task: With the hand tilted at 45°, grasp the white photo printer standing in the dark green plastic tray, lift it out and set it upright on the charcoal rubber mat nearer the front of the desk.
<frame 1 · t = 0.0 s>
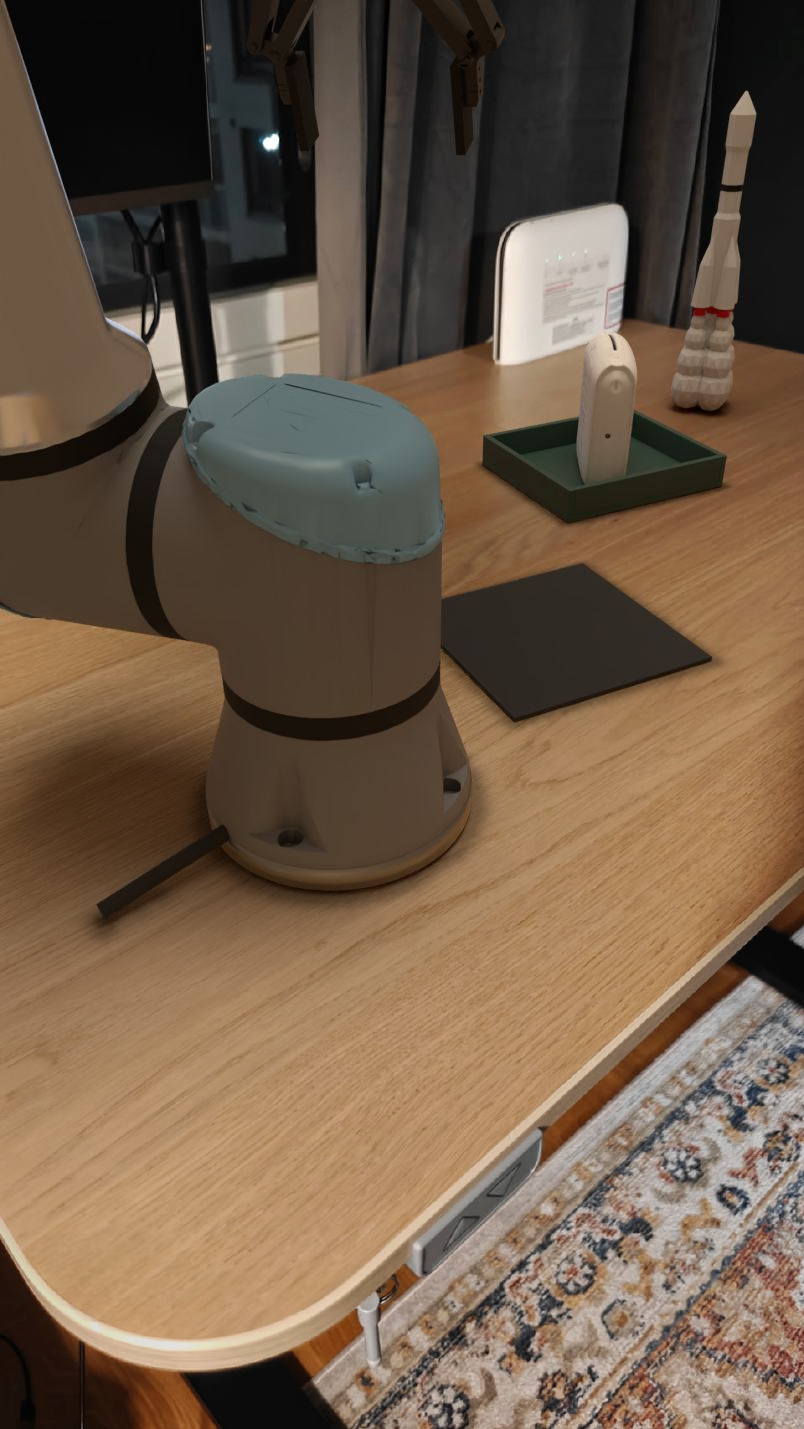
hand: (385, 146, 84), 28 cm above the table, tool tilted 20°, fingers open, 13 cm apart
rocket model: (698, 407, 113), on the table
mat: (552, 634, 74), on the table
tray: (598, 475, 98), on the table
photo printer: (599, 472, 98), resting on tray
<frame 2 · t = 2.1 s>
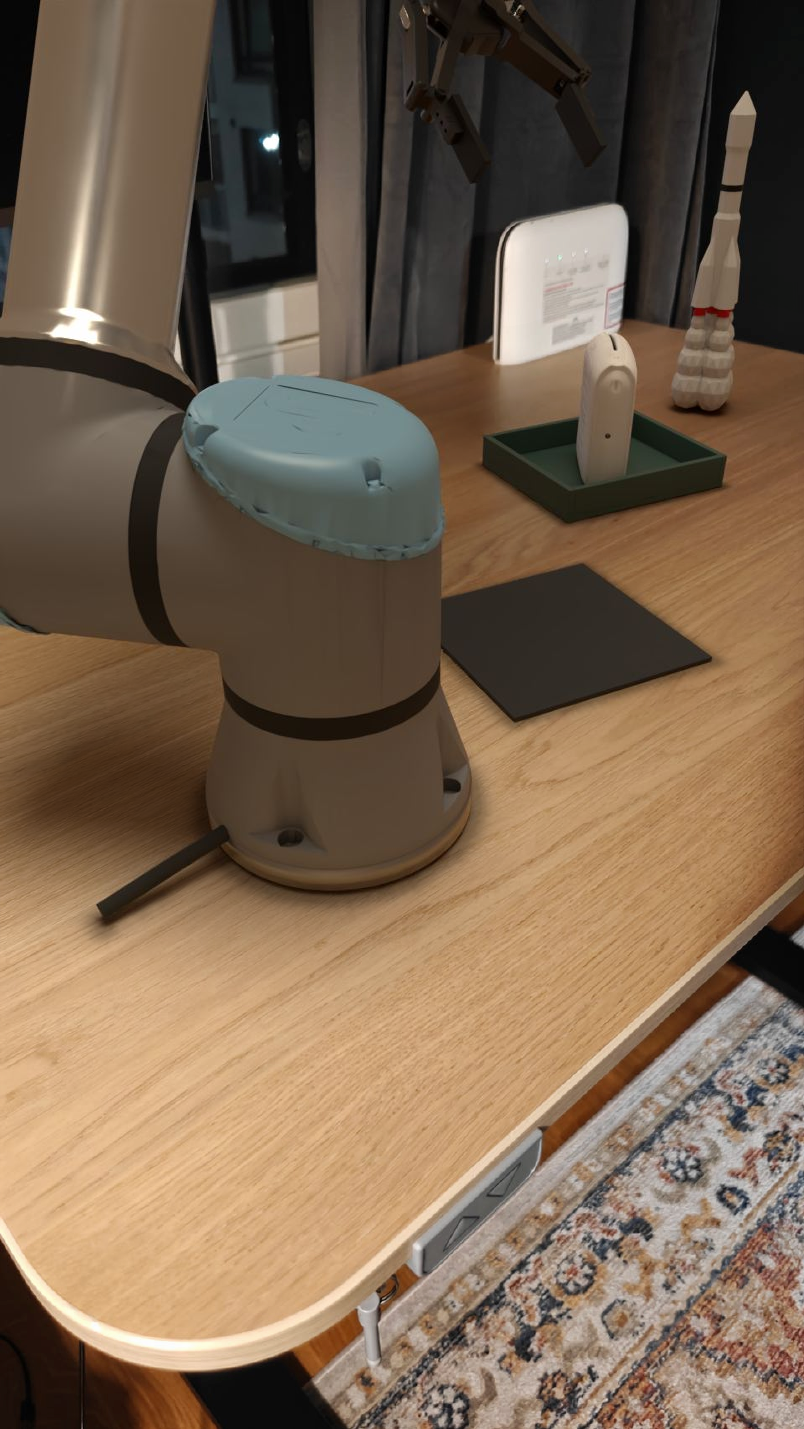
hand: (540, 164, 90), 26 cm above the table, tool tilted 45°, fingers open, 13 cm apart
nothing on the table moved.
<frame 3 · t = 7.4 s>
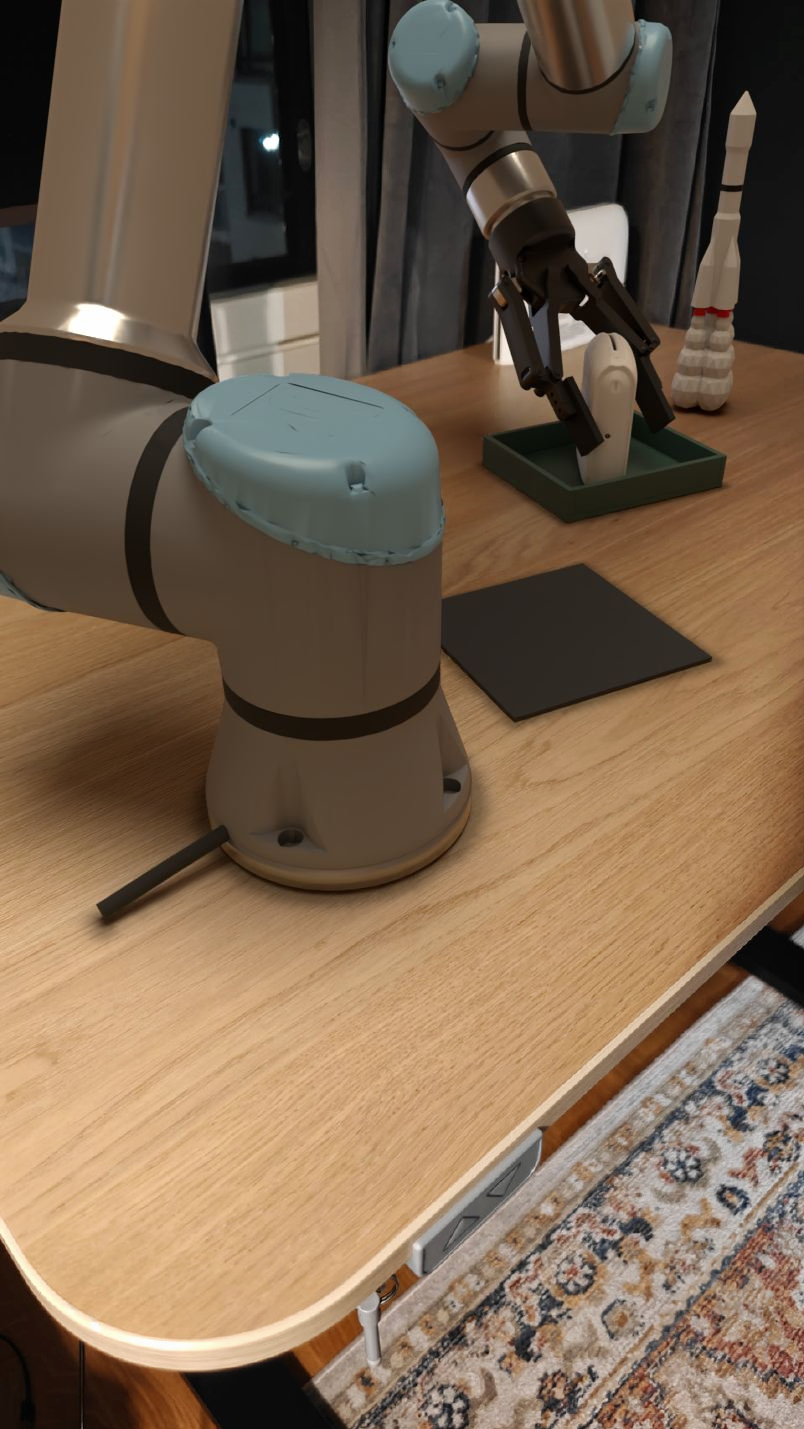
hand: (629, 437, 93), 5 cm above the table, tool tilted 45°, fingers closed on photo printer, 8 cm apart
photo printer: (598, 472, 98), resting on tray, touching gripper
everything else where it was.
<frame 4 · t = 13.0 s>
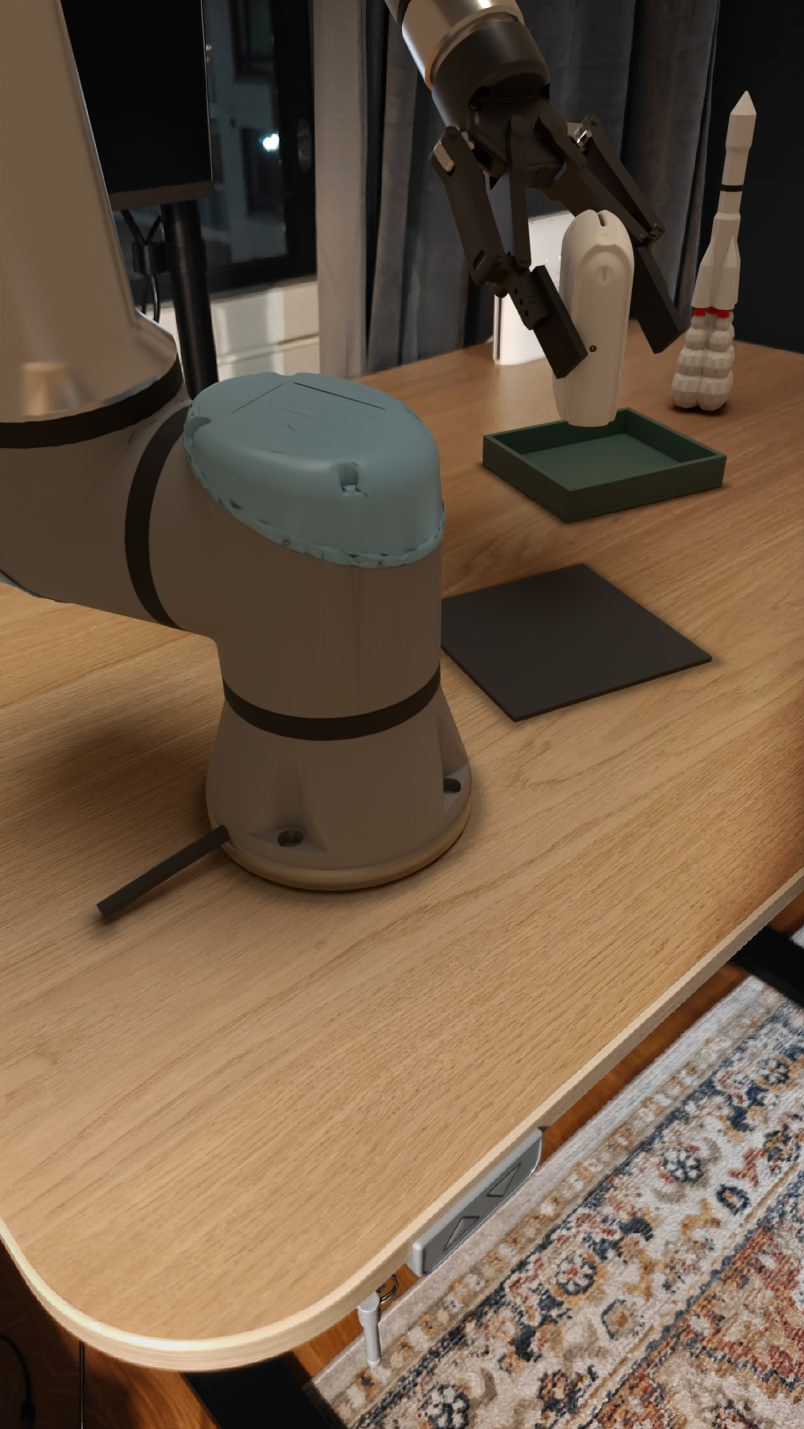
hand: (622, 354, 68), 18 cm above the table, tool tilted 45°, fingers closed on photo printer, 8 cm apart
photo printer: (582, 406, 73), point 14 cm above the table, touching gripper
everything else where it was.
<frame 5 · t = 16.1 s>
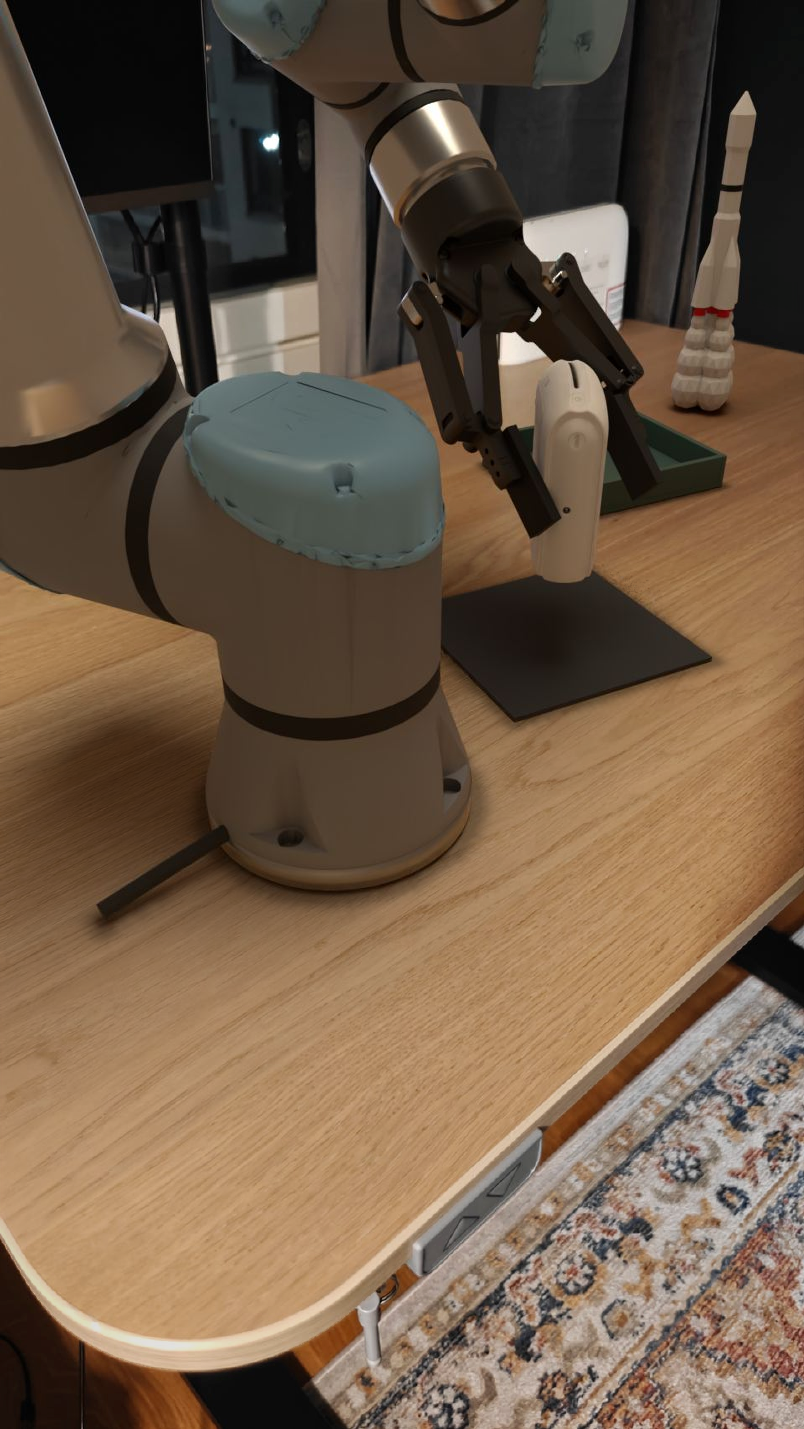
hand: (598, 509, 66), 11 cm above the table, tool tilted 45°, fingers closed on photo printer, 8 cm apart
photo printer: (558, 552, 70), point 7 cm above the table, touching gripper
everything else where it was.
when the fingers open (4 cm above the table, at t = 18.4 s): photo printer stays where it is, resting on mat.
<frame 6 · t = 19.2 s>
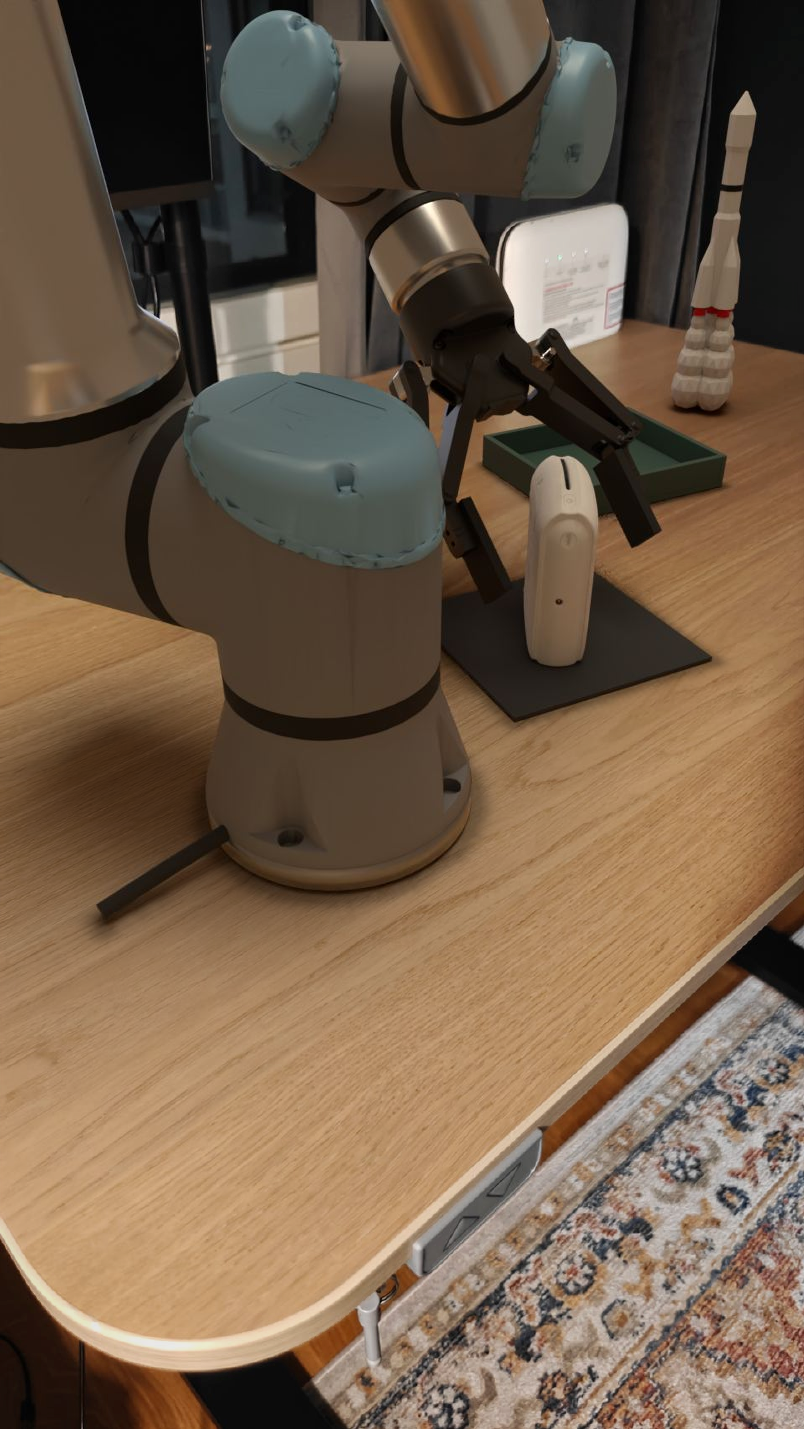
hand: (576, 567, 69), 6 cm above the table, tool tilted 45°, fingers open, 13 cm apart
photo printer: (552, 632, 74), resting on mat
everything else where it was.
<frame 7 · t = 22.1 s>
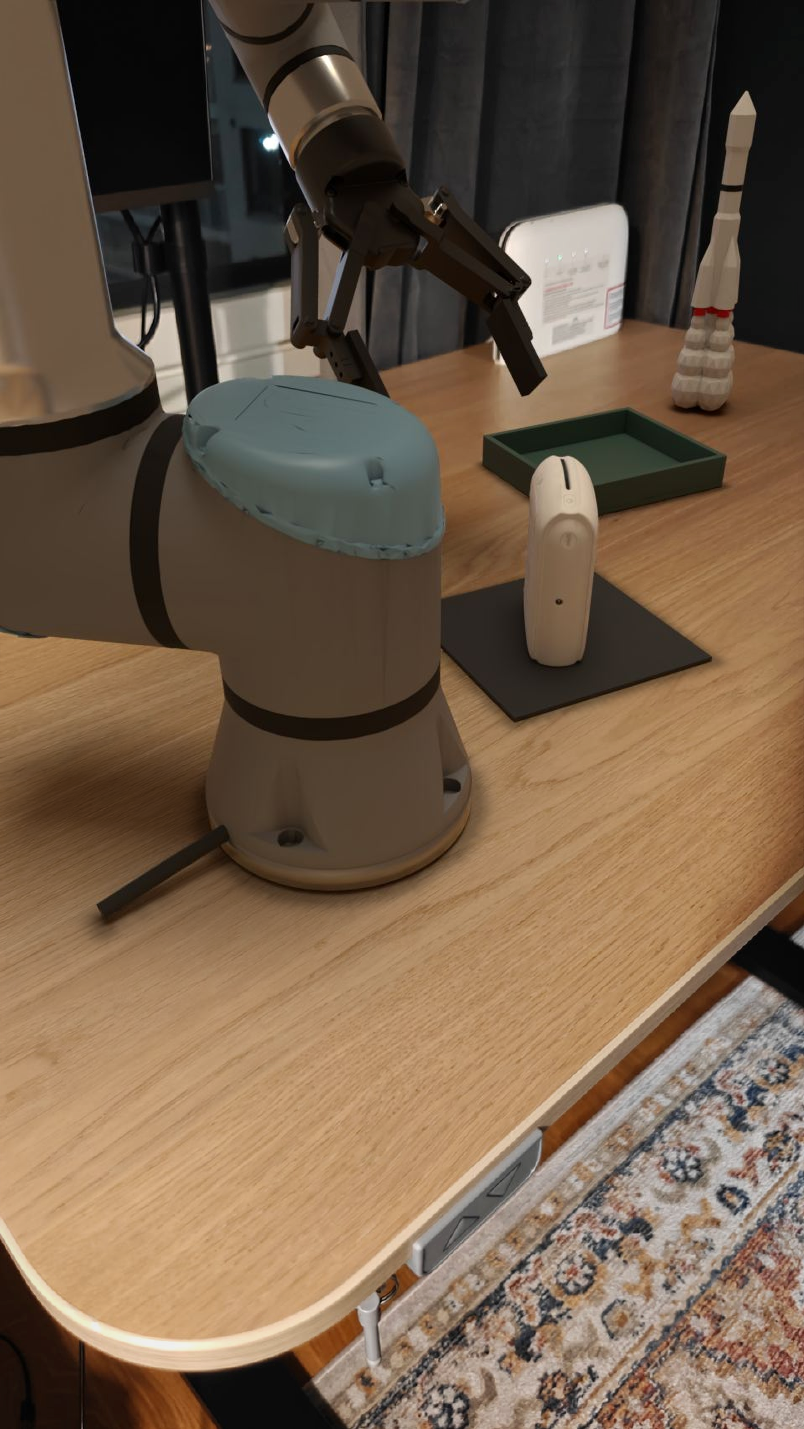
hand: (463, 405, 73), 14 cm above the table, tool tilted 45°, fingers open, 13 cm apart
nothing on the table moved.
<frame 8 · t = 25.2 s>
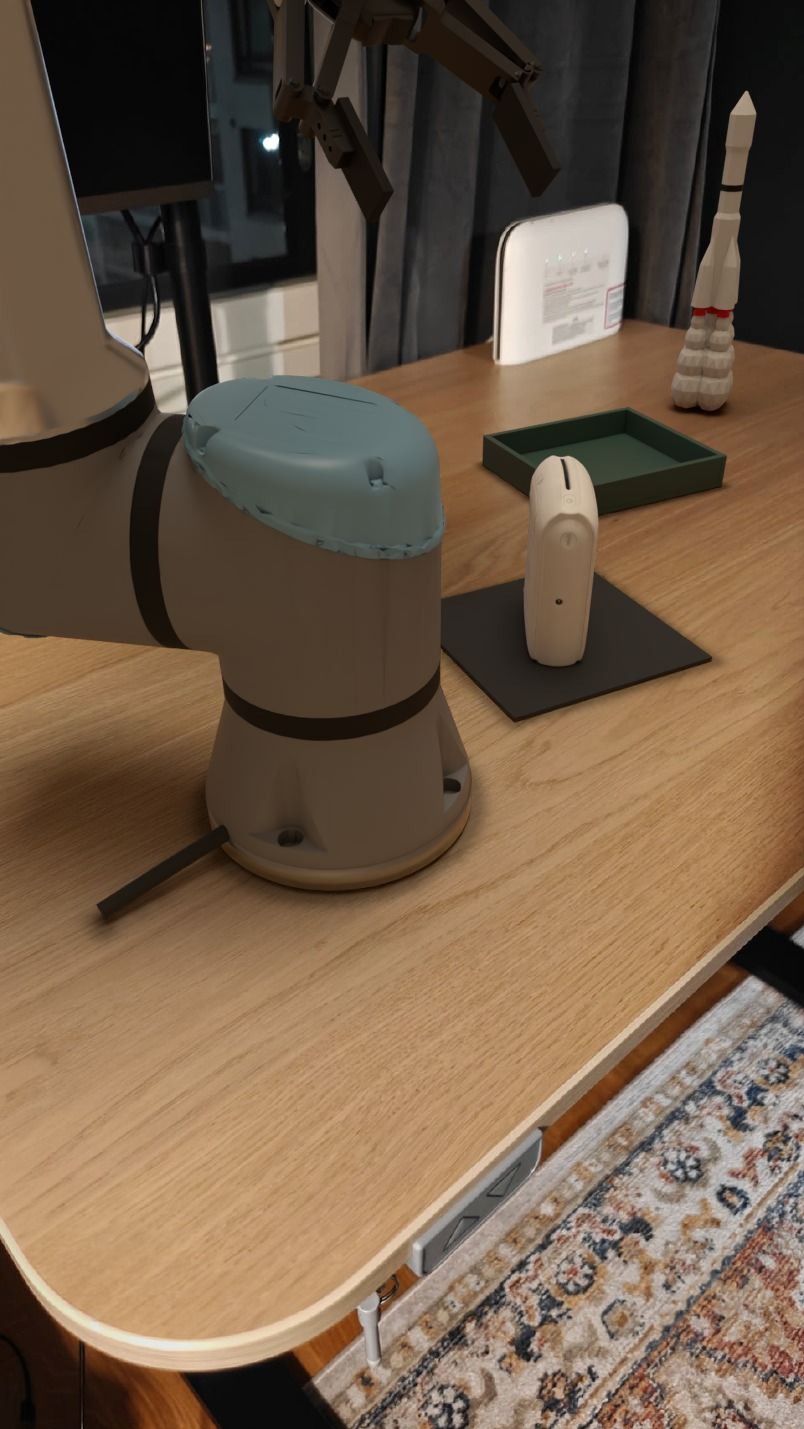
hand: (468, 195, 65), 28 cm above the table, tool tilted 45°, fingers open, 13 cm apart
nothing on the table moved.
at the end: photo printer inside the target area on the mat (0.1 cm from its centre), point 0.1 cm above the mat's base; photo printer tilted 0°; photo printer touching mat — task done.
